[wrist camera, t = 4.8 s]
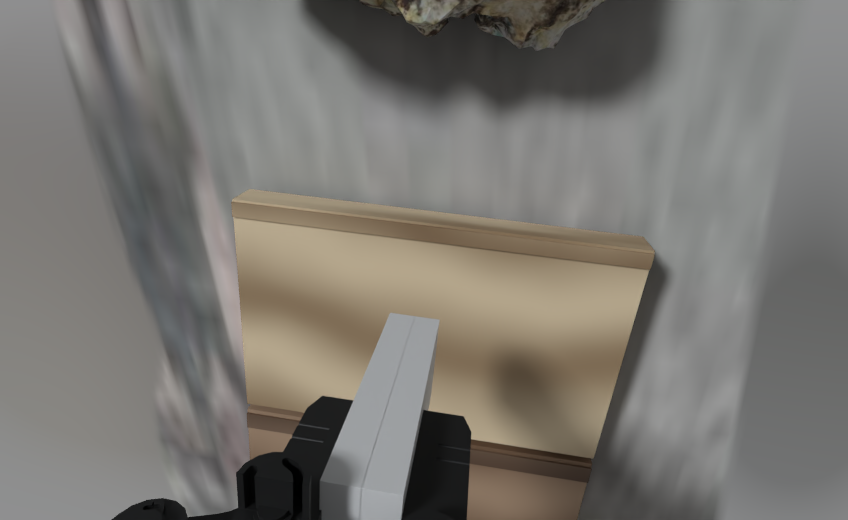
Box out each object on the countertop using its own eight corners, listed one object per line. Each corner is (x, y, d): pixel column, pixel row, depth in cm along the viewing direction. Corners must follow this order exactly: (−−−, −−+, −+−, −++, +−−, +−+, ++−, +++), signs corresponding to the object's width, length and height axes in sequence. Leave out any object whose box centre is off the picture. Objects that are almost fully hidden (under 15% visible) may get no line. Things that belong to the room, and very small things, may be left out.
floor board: (262, 389, 25) (246, 410, 23) (585, 439, 23) (592, 465, 22) (266, 534, 28) (253, 561, 27) (547, 585, 27) (551, 617, 25)
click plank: (249, 189, 21) (231, 199, 19) (643, 236, 19) (655, 252, 18) (261, 383, 25) (246, 404, 23) (587, 434, 23) (594, 460, 22)
